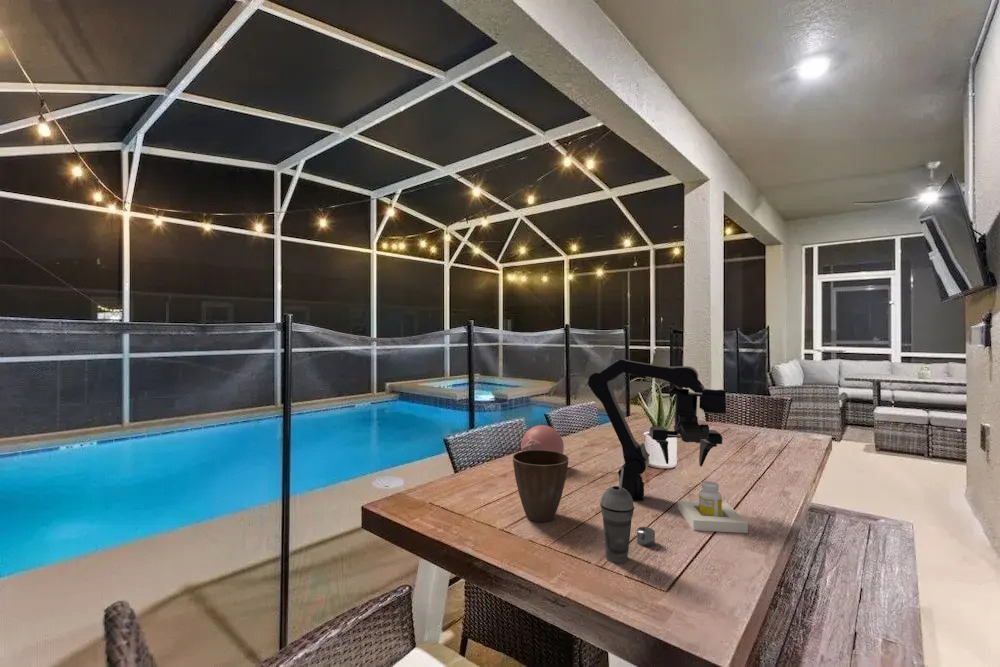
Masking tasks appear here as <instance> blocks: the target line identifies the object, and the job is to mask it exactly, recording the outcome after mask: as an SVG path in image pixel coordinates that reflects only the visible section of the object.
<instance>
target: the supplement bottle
mask: <svg viewBox="0 0 1000 667" xmlns="http://www.w3.org/2000/svg"><path fill="white" fill-rule="evenodd" d="M719 489H720V486H719V483H717V482H714V481H702V483H701V490H700V491H699V494H698V502H699V513H700V514H701V515H702V516H716V517H722V503H723V501H722V500H723V499H722V498H723V497H722V496H723V495H722V493H720V492H719Z"/></svg>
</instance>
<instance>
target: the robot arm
mask: <svg viewBox="0 0 1000 667" xmlns="http://www.w3.org/2000/svg"><path fill="white" fill-rule="evenodd" d="M623 373H625V374H631V375H637V376H642V377H646V378H654V379H659V380H663V381H665V382H668V383H670V384H672V385H674V386H673V387H672V388H671V389H670V390H668V394H669V395H675V405H674V406H675V408H674V409H675V410H674V413H673V414H674V425H673V430H667V428H665V427H664V426H653V425H652V426H651V427H650V428H649V433H648V434H649V437H651V439H652V440H654V441H655V442H656V443H657V444H659V446H660V448H661V452H662V454H663V458H664V462H665V464H666V465H668V464H669V441H668V440H667V439H668V438H674V439H675V438H678V439H681V440H682V441H683V442H684V443H696V444H699V456H698V463H699V464H698V465H699V467H703V465H704V463H705V460H706V458H707V457H708V454H709V452H710V450H712V449H713V448H714V447H718V445H722V444H723V434H721V433H720V432H719V431H717V430H715V429H710V426H709V424H699V418H698V416H697V414H698V412H697V411H698V406H699V409H701V410H702V411H703V413H705V414H715V415H725V416H726V415H727V413H726V412H727V400H726V399H727V398H726V396H727V395H726V394H727V393H726V392H727V390H725V389H713V388H712V389H711V388H705V387H704V384H702V382H701V381H700V380H699V374H698V371H697V370H696V368H694V367H692V366H688V365H686V366H685V365H684V366H683V365H681V366H678V365H677V366H674V365H673V366H666V365H665V366H664V365H658V364H652V363H646V362H640V361H635V360H634V361H633V360H628V359H626V358H620V359H617V360H616V361H615V362H614V363H612V364H611V365H610V366H608V367H606V368H605V369H603V370H602V371H597V372H594V373H592V374H591V375H590V376H589V377H588V380H587V385H588V388H589V389H590V390H591V392H592V393H593V394H594V396H595V397H596V398H597V399H598V400H599V401H600V402H601V404H602V406H603V407H604V410H605V412H606V414H607V416H608V419H609V421H610V423H611V425H612V428H613V429H614V432H615V434H616V435H617V438H618V441H619V442H620V445H621V448H622V456H623V461H624V463H623V464H622V466H621V467H620V468H619V470H618V471H617V473H618V474H617V475H618V481H619V482H618V486H619V485H620V477H621V469H622V468H624V472H623V479H622V488H624V489H626V490H627V491H628V492H629V493H630V495H631V497H632V499H633V501H644V496H645V483H644V481H643V477H642V474H644V473H645V471H646V470H647V468H648V466H649V463H650V459H649V457H650V453H648V451H647V449H646V445H645V443H643V442H642V443H641V444H640V443H638V441H637V440H636V439H635V438H634V435H633V433H632V431H631V428H630V426H629V424H628V422H627V419H626V418H625V416H624V414H623V410H622V409H621V406H619V403H618V400H617V399H616V396H615V388H614V385H613V381H614V380H615V379H616V378H618V377H619V376H621V375H623ZM679 387H680V388H679ZM690 390H691V391H692V392H691V391H690ZM698 397H699V405H698Z"/></svg>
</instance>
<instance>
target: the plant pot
mask: <svg viewBox="0 0 1000 667" xmlns="http://www.w3.org/2000/svg"><path fill="white" fill-rule="evenodd" d="M512 462H513V465H512V466H513V469H514V470H513V472H514V478H515V482H516V487H517V491H518V494H519V499H520V502H521V504H522V508H523V511H524V513H525V516H526V518H527V519H528V520H530V521H532V522H536V523H547V522H551V521H553V520H554V519H555V516H556V514H557V511H558V508H559V506H560V502H561V499H562V495H563V491H564V487H565V483H566V478H567V473H568V466H569V456H568V455H566V454H564V453H563V454H562V453H559V452H554V451H546V450H529V451H518V452H516V453H513V455H512Z"/></svg>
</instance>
